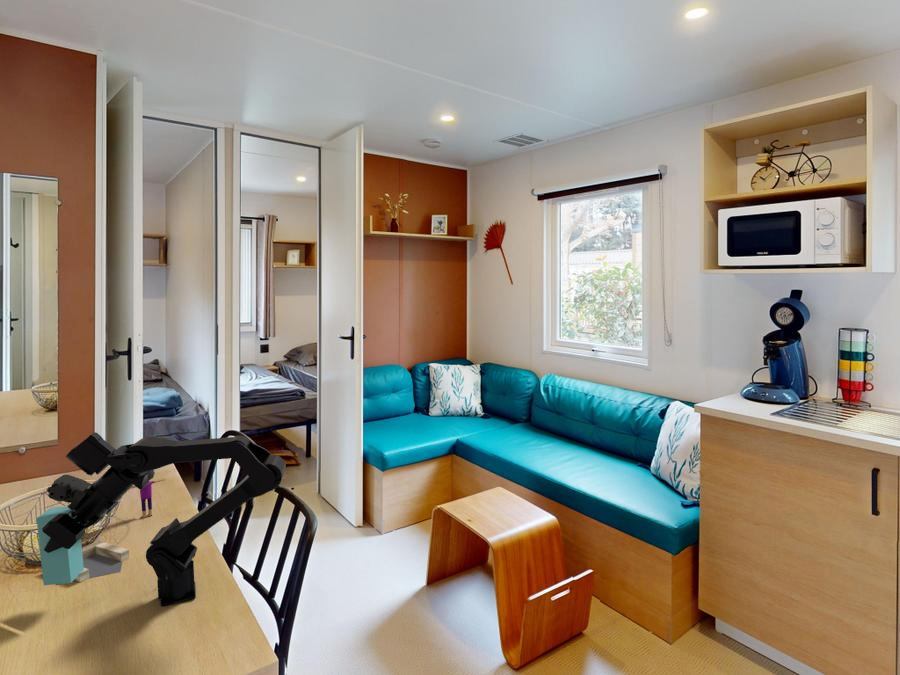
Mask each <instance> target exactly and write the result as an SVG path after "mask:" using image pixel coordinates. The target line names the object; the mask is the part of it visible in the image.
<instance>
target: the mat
mask: <svg viewBox="0 0 900 675" xmlns="http://www.w3.org/2000/svg"><path fill="white" fill-rule="evenodd" d="M83 565H84V568H87V569H89V578H88V579H92V578H98V577H103V576H108V575H112V574H118V573H121V570H122V565H123V561H122V562H121V561H118V560H115V559H111V558H108V557H105V556H101V555H98V554H95V555H92V556H90V557H88V558H86V559H84V560H83ZM73 582H76V581H75V580H73V581H72V582H71V583H73ZM55 585H56V586H57V585H58V586H59V585H60V584H55Z"/></svg>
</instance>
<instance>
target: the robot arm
mask: <svg viewBox="0 0 900 675" xmlns="http://www.w3.org/2000/svg"><path fill="white" fill-rule="evenodd" d="M65 458H66V460H68V461H69V462H71V463H72V464H74V466H76V467H77V468H79V470H81V471H82V472H84V473H85V474H86V475H87V476H90V477H92V476H93V475H94V474H96V475H97V476H98V475H99V474H101V473H102V472H103V471H104V470H106V468H108V467H109V468H108V469H107V470H106V471H105V472H104V473H103V474H102V475H101V476H100V477H99V478H98V479H96V480H95V481H93V483H90V482H88V481H87V480H85V479H81V478H79V477H76V476H74V475H70V474H63V475H61V476H59V477H58V478H56V479H55V480H54V481H53V482H52V484H51V485H50V487H48V489H47V490H46V491H47V493H48V494H47V496H48V498H49V499H51V500H54V501H56V502H59V503H61V502H65V503H69V505H67V507H68V508H70V509H71V510H75V511H73V512H72V513H71V514H70V516H71V517H70V516H69V515H68V514H66V513H65V514H58V515H57V516H56V517H54V518H53V519H52V520H50V521H49V522H48V523H47V524H46V525H45V526H44V527H43V528H42V531H43V532H44V533H45V534H46V535H48V536H49V537H50V540H49V541H48V543H47V545H46V547H45V548H44V551H46V552H47V553H50V552H52V551H55V550H57V549H59V548H62V547H64V548H65V549H70V548H71V547H72V546H73V545H74V544H76V543H77V542H78V541H79V540H80V539H81V540H82V538H83V537H84V536H85V535H86V529H88V528H90V527H92V526H94V525H95V524H98V523H99V522H100V521H102V520H103V518H104V517H105V515H108V514H109V513H110V512H111V511H113V510H114V509H115V508H116V507H117V506H118V504H119V501H120V500H121V499H122V498H123V496H124V495H126V493H127V492H128V491H129V490H131V489H130V488H131V487H132V486H136V488H137V489H138V490H139V491H140V490H141V489H143V488H144V487H145V486H146V485H147V484H148V483H149V481H150V480H148V473H147V471H151V470H154V471H155V470H158V469H160V468H164V467H166V466H169V465H172V464H181V463H182V464H183V463H192V462H193V463H194V462H204V461H205V462H206V461H215V460H216V461H218V460H227V459H231V460H233V461H234V462H235V463H236V464H237V465H238V466H239V467H240V470H241V469H242V471H243V473H245V474H246V476H245V477H244V478H243V479H242V480H241V481H240V482H238V483H237V484H236V485H234V486H233V487H231V488H230V489H229V490H227V491H226V492H224V493H223V494H222V495H221V496H219V497H218V498H216V499H215V500H213V501H212V502H211V503H210V504H208V505H207V506H206V507H203V509H202V510H200V511H198V513H195V514H194V516H192V517H190V518H189V519H188V520H185V521H182V522H180V520H179V519H178V518H177V517H176V518H174V519H173V520H172V521H171V522H170V523H169V524H168V525H166V526H162V527H161V528H160V529H159V531H158V532H157V533H156V535H155V536H154V537H153V538H152V540H150V542H149V544H150V546H149V547H148V548H147V549H146V552H145V559H146V562H147V563H148V565H150V566H151V567H152V569H153V571H154V573H155V575H156V577H157V581H156V582H157V584H156V586H157V599H158V600H160V606H161V607H164V606H168V605H169V606H170V605H173V604H177V603H182V602H186V601H187V602H188V601H190V600H194V599H196V597H197V596H196V594H197V592H196V581H195V566H194V564H195V563H194V558H195V556H196V554H197V551H198V547H197V546H196V545H195V544H193V542H194V541H195V540H196V539H198V538H199V537H200V536H201V535H203V534H204V533H206V532H207V531H208V530H210V529H211V528H213V527H214V526H215V525H216V524H218V523H219V522H221V521H222V520H223V519H225V518H226V517H227V516H229V515H230V514H231V513H233V512H234V511H235V510H237V509H238V508H240V507H241V506H242V505H244V504H245V503H246V502H248V501H249V500H251V499H255V498H258V497H261V496H264V495H265V494H267V493H270V492H271V491H273V490H275V489H277V488H278V487H279V486H280V484H281V482H282V480H283V477H284V475H285V473H286V469H287V465H286V461H285V460H284V459H283V458H282V457H281V456H279V455H277V454H273V453H272V452H270V451H269V450H268V449H266V448H264V447H263V446H260V445H259V444H257V443H255V442H253V441H251V440H250V439H249V438H248V437H246V436H244V435H235V436H229V437H217V438H215V437H214V438H205V439H204V438H202V439H190V440H172V439H169V438H165V437H155V436H153V437H152V436H145V437H143V438H141V439H139V440H138V441H136V442H135V443H130V444H125V445H124V444H123V445H120V446H119V447H117V448H115V446H114V447H113V446H112V445H111V444H110V443H108V442H107V440H105V439H104V438H103V437H102V435H100V434H99V433H98V432H97V431H95V432H92V433H91V434H90V435H89V436H87V438H85V439H84V440H82V441H81V442H80V443H79V444H78V445H76V446H74V447H73V448H72V449H71V450H70V451H69V452H68V453H67V454H66V456H65ZM76 516H77V517H76ZM72 517H73V518H74V517H76V518H74V519H73V518H72ZM78 522H79V523H78Z"/></svg>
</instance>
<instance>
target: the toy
mask: <svg viewBox="0 0 900 675" xmlns="http://www.w3.org/2000/svg"><path fill="white" fill-rule="evenodd" d="M147 473H148V480H149V483H148V484H147V485H146V486H145V487H144V488H143V489H141V490H140V489H139V495H140V503H141V513H142V514H141V517H142V518H143V519H145V518H146V517H147V515H148V516H149V517H152V516H153V505H152V504H153V499H152V497H153V493H152V491H153V490H152V485H153V484H156V483H160V482H163V481H166V478H161V479H157V480H153V481H151V480H152V479H153V478H154V476H155V474H156V472H155V470H151V471H147ZM135 488H137V487H136V486H135V485H133V486H132V487H131V488H130V489H129V490H132V489H135ZM146 501H147V503H146ZM146 511H148V513H147V512H146ZM151 515H152V516H151Z"/></svg>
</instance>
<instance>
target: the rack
mask: <svg viewBox="0 0 900 675" xmlns="http://www.w3.org/2000/svg"><path fill="white" fill-rule="evenodd" d="M95 554H98V555H101V556H105V557H108V558H111V559H115V560H118V561H121V562H122V561H125V560H127V559H128V560H129V559H130V549H128V548H126V547H125V548H124V547H121V546H118V545H114V544H111V543H107V542H103V541H101V540H97V541H95V542H92V543H89V544H88V545H85V546H83V547H82V555H83V560H84V559H86V558H88V557H90V556H92V555H95ZM122 563H123V562H122ZM89 579H90V578H89V569H87V568H84V570H83V571H82V572H81V573H80V574H79V575H78V576H77V577H76V578H75V579H74V580H75V581H74V582H78V583H82V582H84V581H86V580H89Z"/></svg>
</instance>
